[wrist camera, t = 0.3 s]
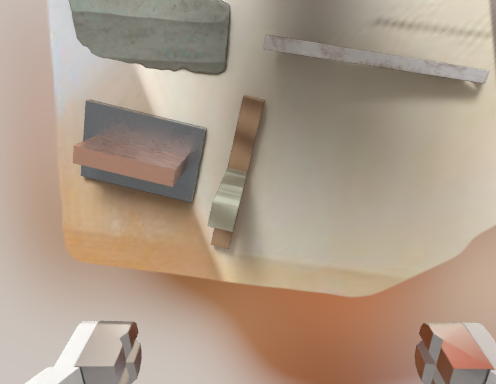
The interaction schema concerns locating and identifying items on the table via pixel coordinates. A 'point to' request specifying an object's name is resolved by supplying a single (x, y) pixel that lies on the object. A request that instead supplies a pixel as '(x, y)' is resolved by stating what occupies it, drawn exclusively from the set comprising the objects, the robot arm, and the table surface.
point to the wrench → (374, 59)
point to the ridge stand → (140, 150)
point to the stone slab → (156, 32)
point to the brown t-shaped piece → (235, 173)
